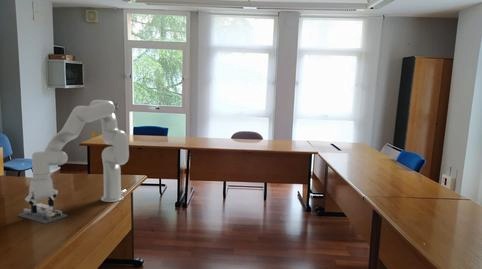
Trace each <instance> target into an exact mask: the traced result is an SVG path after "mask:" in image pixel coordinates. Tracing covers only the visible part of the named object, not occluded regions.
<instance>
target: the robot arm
mask: <svg viewBox="0 0 482 269" xmlns="http://www.w3.org/2000/svg"><path fill="white" fill-rule="evenodd" d="M115 111H116V106H115V104H114V103H113V102H112V101H111V100H109V99H108V100H105V99H94V100H92V101H91V102H90V103H89V105H77V106H75V107H74V108H73V109H72V111H71V112H70V114H69V116H68V118H67V120H66V122H65V123H64V125H63V126H62V128H61V130H60V131H58V132H57V133H56V134H55V135H54V136H53V137H52V138H51V140H50V141H49V142H48V144H47V146H46V148H45V149H44V151H36V152H33V153H32V154H31V162H32V164H31V165H32V179H31V180H30V184H29V194H28V195H27V196H26V197H25V198H24V201H25V202H27V204H29V205H30V208H31V209H30V210H31V211H32V213H37V205H36V204H38V201H40V200H44V199H48V200H47V205H49V206H53V207H54V203H55V202H54V201H55V199H56V197H57V196H58V193H59V190H58V189H55V188H54V184H53V179H52V177H51V176H52V175H53V173H52V172H51V166H62V165H65V164H66V163H67V162H68V159H69V158H68V157H69V156H68V154H67V153H66V152H65V151H63V148H64V147H65V145H66V144H67V143H68V142H70V141H73V140H75V139H76V138H78V137H79V136H80V134H81V132H82V130H83V128H84V126H85V125H86V123H92V122H96V121H99V120H100V123H101V131H102V132H101V133H102V134H101V135H102V141H103V143H105V144H106V145H108V146H107V147H104V149H103V150H102V152H101V159H102V160H101V161H102V165H103V166H102V167H103V196H101V198H100V200H101V201H102V202H105V203H116V202H120V201H123V200H124V195H123V194H125V193H127V189H122V181H121V180H122V175H121V174H122V171H121V166H123V165H125V164H126V163H127V162H128V161H129V158H130V150H129V149H130V148H129V147H130V146H129V138H128V135H127V133H126V132H125V131H124V130H122V129H119V127H118V120H117V116H116V113H115Z"/></svg>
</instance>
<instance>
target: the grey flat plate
mask: <svg viewBox="0 0 482 269" xmlns="http://www.w3.org/2000/svg"><path fill="white" fill-rule="evenodd" d="M17 216H18V217H20V218H25V219H28V220H31V221H35V222H38V223H42V224H49V223H52V222H55V221H58V220H61V219H63V218H66V217H68V214H64V213H62V216H61V217H60V216H55V217H52V218H50V219H51V220H45V219H42V217H41V216H37V215H34V213H32V215H28V214H24V212H23V213H22V212H21V213H19V214H17Z"/></svg>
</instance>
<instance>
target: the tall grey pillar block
mask: <svg viewBox="0 0 482 269" xmlns="http://www.w3.org/2000/svg"><path fill="white" fill-rule="evenodd" d="M36 205H37V213H34V215H37V216H41V217H42V213H44V214H51V213H53V210H54V205H53V206H49V205H48V204H44V203H41V202H39V203H36Z"/></svg>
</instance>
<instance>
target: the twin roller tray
mask: <svg viewBox="0 0 482 269" xmlns="http://www.w3.org/2000/svg"><path fill="white" fill-rule="evenodd" d="M23 213H24V214H28V215H32V211H31V209H29V208H26V207H25V208H23ZM62 214H63V211H62V210H60V209H59V210H58V209H53V213H51V214H44V213H42V219H45V220H51V219H50V218H52V217H55V216H60V217H61V216H62Z"/></svg>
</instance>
